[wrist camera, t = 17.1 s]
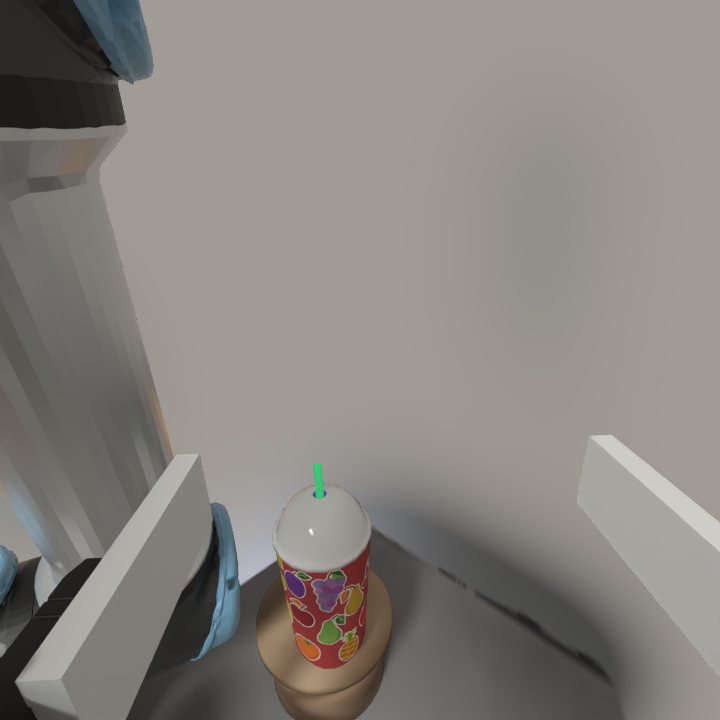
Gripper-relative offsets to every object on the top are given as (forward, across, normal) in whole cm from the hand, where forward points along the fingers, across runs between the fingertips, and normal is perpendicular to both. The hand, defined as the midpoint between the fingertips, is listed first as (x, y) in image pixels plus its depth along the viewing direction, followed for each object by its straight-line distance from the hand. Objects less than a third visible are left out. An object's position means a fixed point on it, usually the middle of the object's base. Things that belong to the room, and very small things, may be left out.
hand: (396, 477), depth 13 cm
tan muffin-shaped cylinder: (+18, -5, -38) cm, 42 cm away
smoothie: (+15, -4, -30) cm, 34 cm away
